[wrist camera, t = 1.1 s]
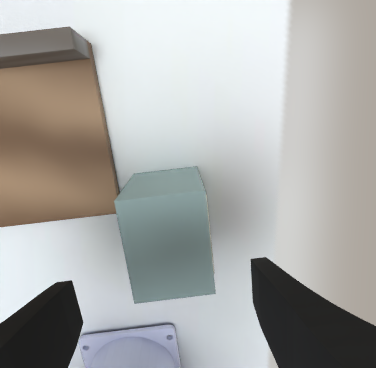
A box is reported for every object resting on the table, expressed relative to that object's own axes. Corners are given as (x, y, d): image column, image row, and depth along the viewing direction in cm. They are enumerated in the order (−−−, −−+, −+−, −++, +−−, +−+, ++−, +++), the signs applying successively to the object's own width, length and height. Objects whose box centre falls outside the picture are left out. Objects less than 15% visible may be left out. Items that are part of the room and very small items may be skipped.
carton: (147, 248, 20) (134, 303, 14) (134, 173, 18) (114, 201, 13) (206, 241, 20) (217, 293, 14) (198, 166, 18) (207, 190, 13)
